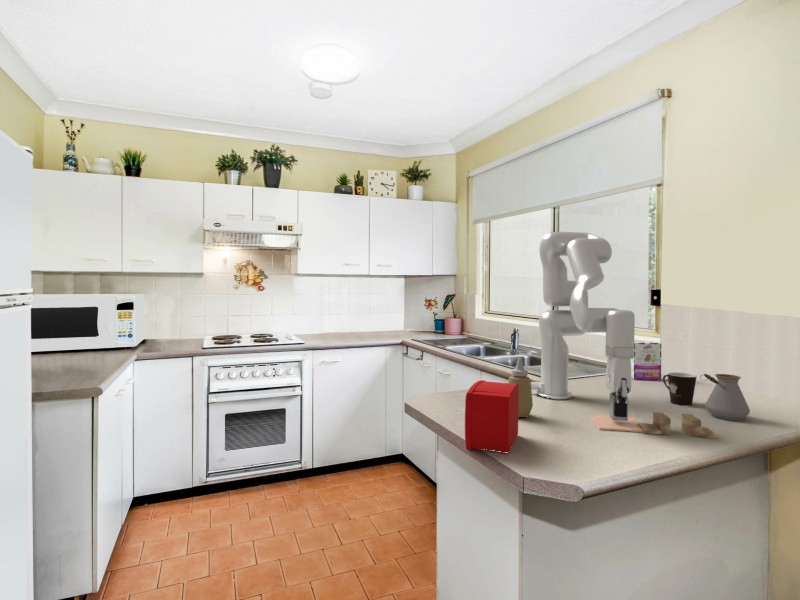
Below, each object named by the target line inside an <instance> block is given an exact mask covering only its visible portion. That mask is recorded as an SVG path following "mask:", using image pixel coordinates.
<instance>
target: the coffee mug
mask: <svg viewBox="0 0 800 600" xmlns="http://www.w3.org/2000/svg"><path fill="white" fill-rule="evenodd" d="M666 378H667V380H668V383H667V382H666ZM696 381H697V375H696V374H694V373H693V374H692V373H689V372H668V373H667V374H665V375H663V377H662V382H663V384H664V386H665V387H666V388H667V389H668V391H669V398H670V403H671V404H673V403H674V404H673V405H676V404H678V405H677V406H683V405H690V406H693V400H694V394H695V391H696V390H695V388H696Z"/></svg>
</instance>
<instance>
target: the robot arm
mask: <svg viewBox="0 0 800 600" xmlns="http://www.w3.org/2000/svg"><path fill="white" fill-rule="evenodd" d="M538 251H539V252H538V253H539V258H540V262H541V266H542V293H543V294H542V295H543V302H544V304H545V305H548V306H550V307H569V309H566V310H565V309H552V310H551V309H550V310H546V311H544V312H543V313H541V314H540V316H539V318H538V327H539V332H540V340H541V341H540V342H541V345H540V347H541V348H540V349H541V350H540V353H541V355H540V356H541V357H540V358H541V360H540V361H541V362H540V369H541V370H540V380H539V382H536V383H531V390H535V391H536V393H537V394H538V395H540V396H542V397H541V398H543V397H546V398H545V399H549V398H551V399H550V400H569V399H571V398H573V393H572V392H571V391H569V355H570V354H569V346H568V344H567V342H566V340H565V339H564V337H573V336H575V337H576V336H583V335H584V334H586V333H605V357H606V358H607V360H606V370H605V372H606V373H605V386H606V388H607V389H609V391H610V393H616V403H615V414H614V415H615V416H616V417H627V397H628V398H629V395H628V394H629V393H631V391H632V378H631V359H633V358H634V342H635V324H636V323H635V321H636V316H635V313H634V311H632V310H630V309H629V310H628V309H618V308H614V307H589V292H588V291H589V290H591V289H593V288H596V287H598V286H599V285H600V284H602V282H603V281H604V279H605V276H604V273H603V270H602V267H601V264H605V263H608V262H609V261H610V260H611V258H612V255H613V250H612V246H611V244H610V243H609V241H608V240H607V239H605V238H604V237H600V236H597V235H595V234H592V233H588V232H576V231H574V232H573V231H552V232H548V233H545V235H543V237H542V238H541V240H540V243H539V249H538ZM561 256H562V257H563V256H565V257H567V258H568V261H569V264H570V267H571V268H570V269H571V270H572V272H573V276H574V279H575V280H569V279H568V267H567V265H566V263H565V261H564V260H563V259H562V258H561ZM537 394H536V395H537ZM619 394H621V395H620V396H619ZM538 395H537V396H538ZM540 396H539V397H540Z"/></svg>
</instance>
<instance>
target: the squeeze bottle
mask: <svg viewBox="0 0 800 600" xmlns="http://www.w3.org/2000/svg"><path fill="white" fill-rule="evenodd" d="M507 383H511V384H519V414H518V417H526V418H528V417H527V416H529V417H530V414H531V412H532V409H533V406H534V403H533V393H532V389H531V384H532V381H531V378H530V377H529V376H528V370H527V369H525V368H524V362H523V358H522V357H518V358H517V361H516V365H515V368H513V369H511V376H509V378H508V382H507Z"/></svg>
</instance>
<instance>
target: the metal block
mask: <svg viewBox="0 0 800 600" xmlns="http://www.w3.org/2000/svg"><path fill="white" fill-rule="evenodd" d="M620 395H621V394H619V396H620ZM615 403H616V393H611V392H610V393H609V416H610V417H611V419H612V420H618V421H628V417H629V396H628V397H627V417H616V416H615V415H614V414H615Z"/></svg>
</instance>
